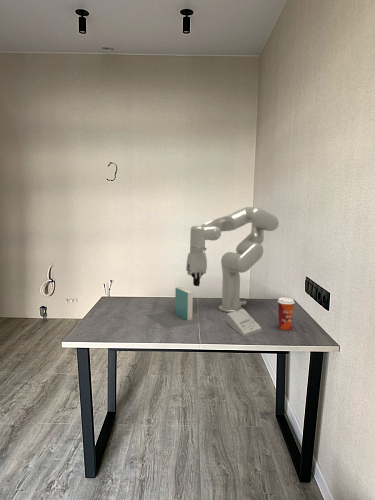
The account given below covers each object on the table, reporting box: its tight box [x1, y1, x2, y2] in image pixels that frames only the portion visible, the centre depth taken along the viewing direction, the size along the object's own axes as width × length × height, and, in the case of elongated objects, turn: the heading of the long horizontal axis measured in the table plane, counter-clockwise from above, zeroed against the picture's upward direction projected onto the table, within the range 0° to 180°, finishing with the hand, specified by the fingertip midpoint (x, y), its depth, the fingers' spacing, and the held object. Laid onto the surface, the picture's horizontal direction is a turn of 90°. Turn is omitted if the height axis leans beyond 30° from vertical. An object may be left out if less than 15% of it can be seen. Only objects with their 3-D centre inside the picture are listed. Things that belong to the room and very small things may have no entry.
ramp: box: [226, 308, 262, 338], centre depth 179 cm, size 28×16×5 cm, turn 176°
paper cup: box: [277, 297, 295, 331], centre depth 177 cm, size 8×8×14 cm
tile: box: [174, 286, 194, 320], centre depth 191 cm, size 3×12×14 cm, turn 31°
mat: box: [146, 310, 206, 329], centre depth 189 cm, size 22×22×1 cm
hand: (196, 285), depth 194 cm, fingers closed
